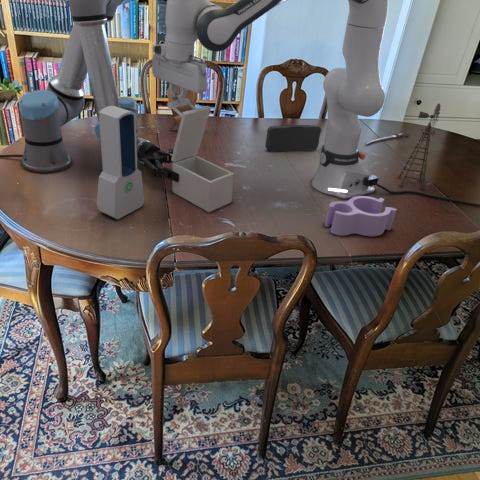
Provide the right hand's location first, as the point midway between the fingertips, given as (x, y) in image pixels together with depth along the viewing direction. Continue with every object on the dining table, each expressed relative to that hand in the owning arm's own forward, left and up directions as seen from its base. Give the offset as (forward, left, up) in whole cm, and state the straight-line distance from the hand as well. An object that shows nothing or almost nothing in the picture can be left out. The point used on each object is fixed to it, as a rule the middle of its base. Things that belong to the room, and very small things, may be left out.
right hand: (178, 100), depth 141 cm
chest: (-6, +10, -28) cm, 30 cm away
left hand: (-3, +5, -22) cm, 23 cm away
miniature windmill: (-86, +13, -28) cm, 91 cm away
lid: (-3, +6, -9) cm, 11 cm away
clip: (-48, +37, -28) cm, 66 cm away
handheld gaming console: (-53, -23, -28) cm, 65 cm away
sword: (-105, -29, -28) cm, 112 cm away
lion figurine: (-16, -48, -28) cm, 58 cm away
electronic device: (+20, +14, -28) cm, 37 cm away
